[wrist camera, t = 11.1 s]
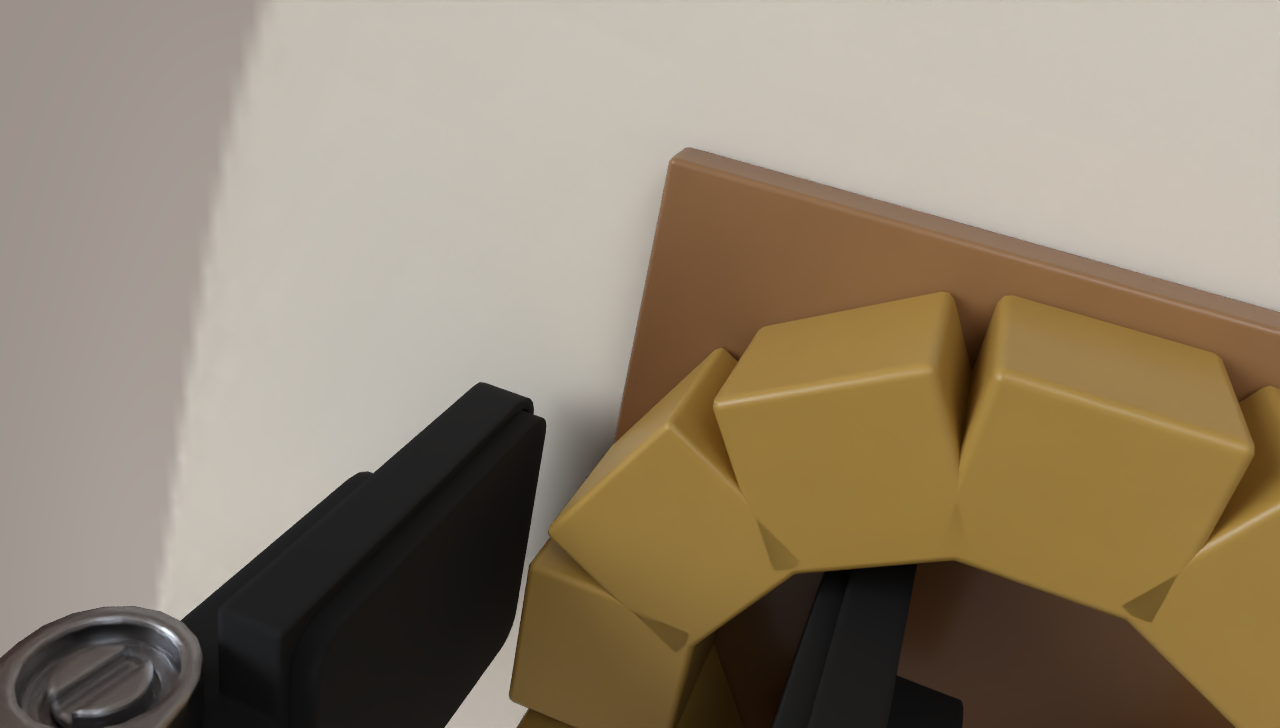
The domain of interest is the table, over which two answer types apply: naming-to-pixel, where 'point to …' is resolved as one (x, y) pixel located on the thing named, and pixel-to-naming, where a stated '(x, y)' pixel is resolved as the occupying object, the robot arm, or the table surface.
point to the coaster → (977, 280)
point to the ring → (915, 502)
